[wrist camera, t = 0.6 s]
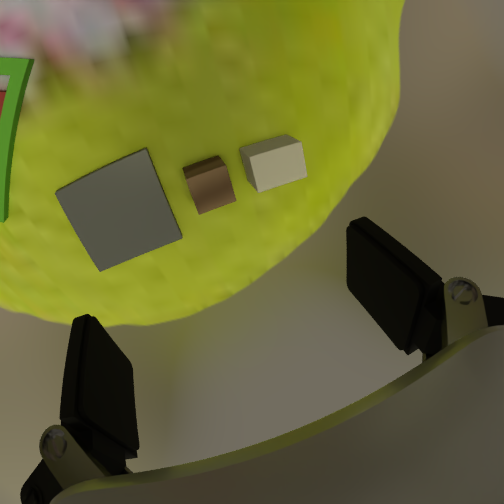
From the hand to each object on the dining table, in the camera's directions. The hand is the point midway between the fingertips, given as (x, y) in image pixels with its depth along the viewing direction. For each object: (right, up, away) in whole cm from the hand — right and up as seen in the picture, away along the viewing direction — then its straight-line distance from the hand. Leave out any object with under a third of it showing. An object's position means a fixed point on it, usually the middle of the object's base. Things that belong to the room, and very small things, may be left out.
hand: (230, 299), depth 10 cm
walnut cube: (-6, +12, +29) cm, 32 cm away
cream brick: (+3, +15, +30) cm, 34 cm away
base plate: (-18, +7, +28) cm, 34 cm away
